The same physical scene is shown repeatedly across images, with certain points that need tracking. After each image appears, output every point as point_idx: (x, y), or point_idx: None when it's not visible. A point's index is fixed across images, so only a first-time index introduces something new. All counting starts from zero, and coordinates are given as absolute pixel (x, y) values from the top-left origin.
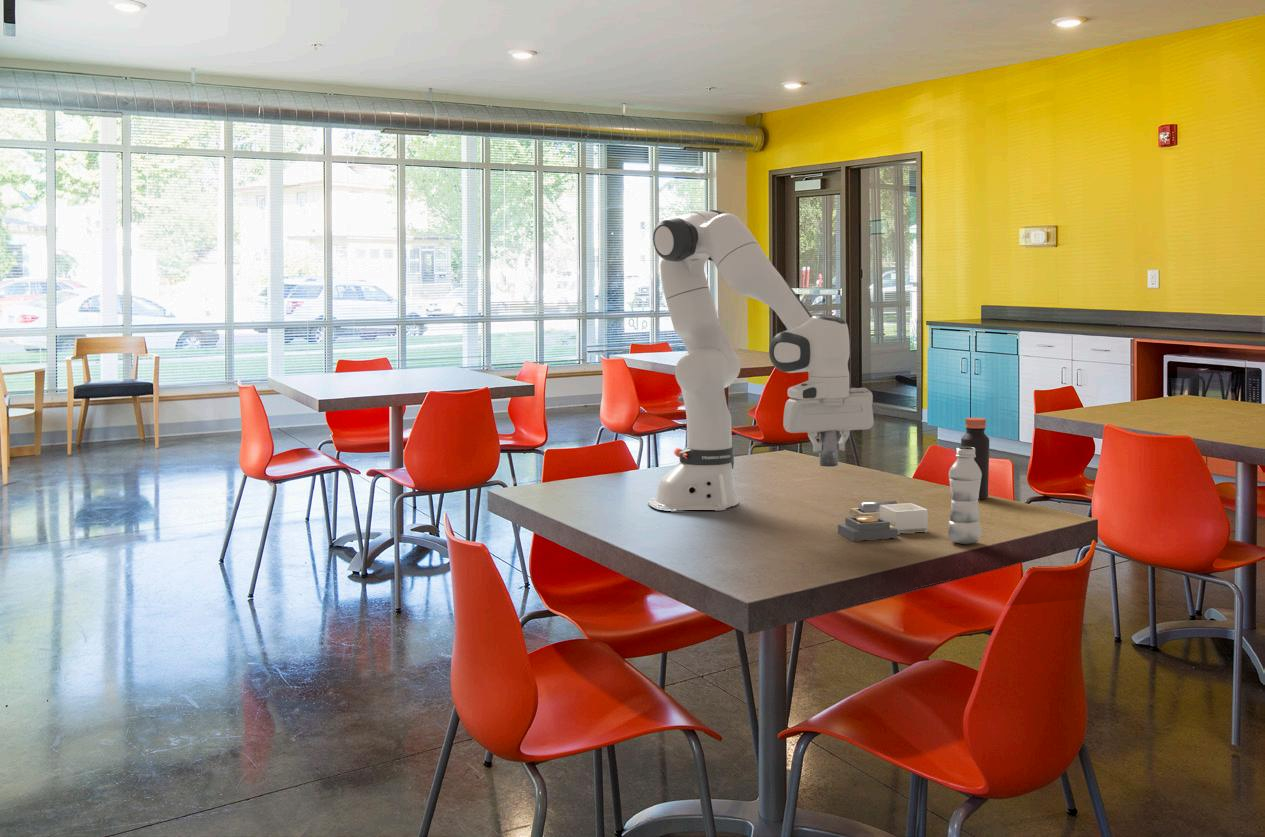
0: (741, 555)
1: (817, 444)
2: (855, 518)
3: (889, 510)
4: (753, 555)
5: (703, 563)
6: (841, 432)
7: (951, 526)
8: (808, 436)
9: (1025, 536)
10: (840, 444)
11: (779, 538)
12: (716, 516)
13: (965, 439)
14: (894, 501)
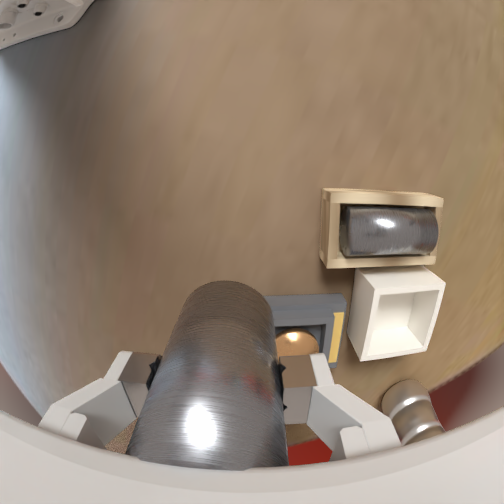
0: (59, 366)
1: (130, 416)
2: (278, 325)
3: (364, 334)
4: (72, 373)
5: (29, 374)
6: (336, 460)
7: (387, 416)
8: (57, 408)
9: (480, 359)
10: (294, 416)
11: (110, 300)
12: (45, 76)
13: None
14: (434, 242)
